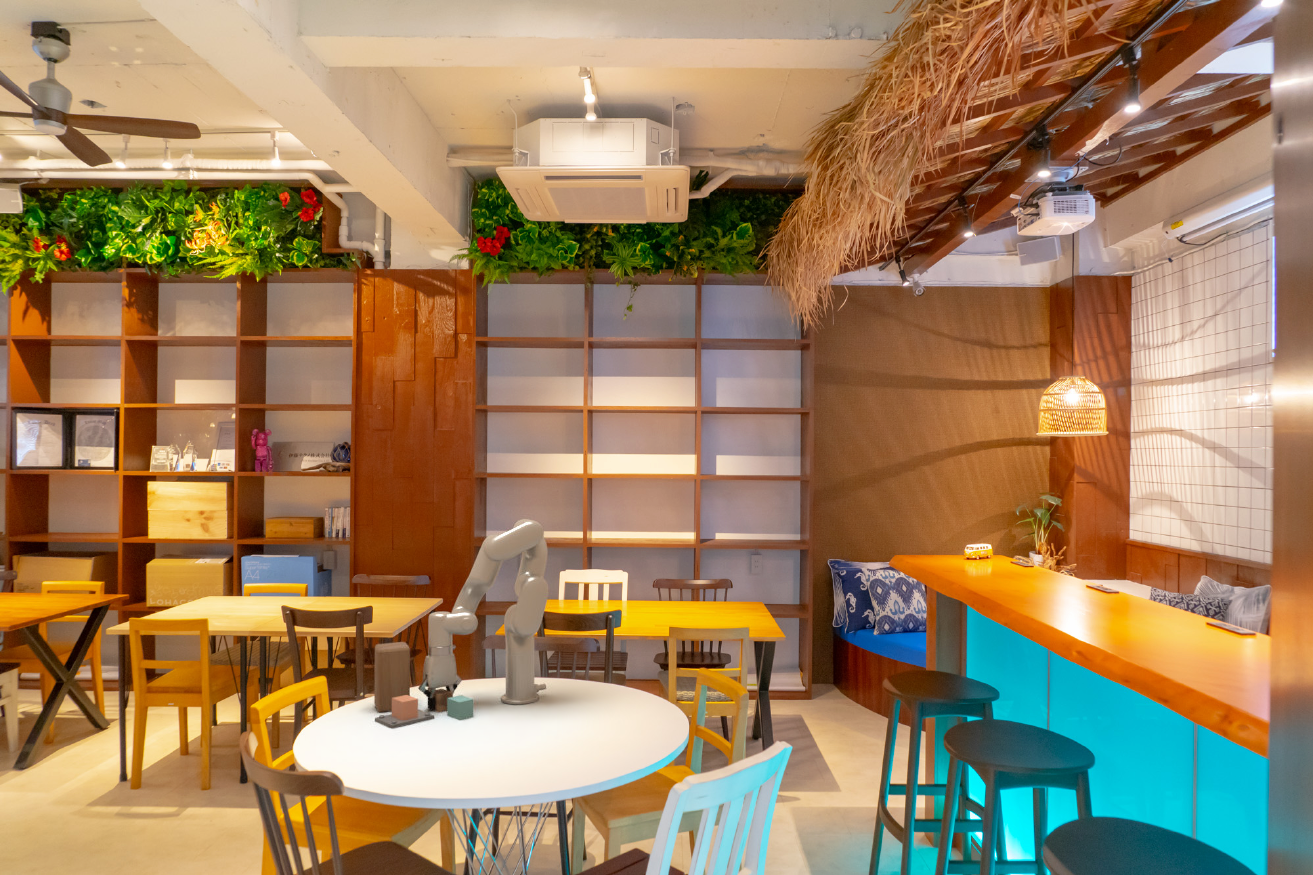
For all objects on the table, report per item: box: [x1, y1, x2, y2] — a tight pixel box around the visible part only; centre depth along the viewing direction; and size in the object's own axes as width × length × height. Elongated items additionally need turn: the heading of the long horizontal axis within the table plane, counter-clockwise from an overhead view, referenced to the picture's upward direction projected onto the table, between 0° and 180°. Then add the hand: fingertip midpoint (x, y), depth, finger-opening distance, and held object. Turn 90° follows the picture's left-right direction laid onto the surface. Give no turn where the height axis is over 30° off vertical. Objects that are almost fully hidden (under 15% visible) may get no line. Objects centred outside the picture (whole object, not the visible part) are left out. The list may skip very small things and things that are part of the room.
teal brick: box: [446, 694, 474, 721], centre depth 258 cm, size 5×7×6 cm
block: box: [373, 641, 411, 713], centre depth 269 cm, size 10×10×20 cm
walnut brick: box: [427, 688, 454, 713], centre depth 266 cm, size 5×7×6 cm
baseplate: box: [374, 695, 435, 729], centre depth 254 cm, size 14×11×6 cm
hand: (440, 707), depth 266 cm, fingers open, 5 cm apart
